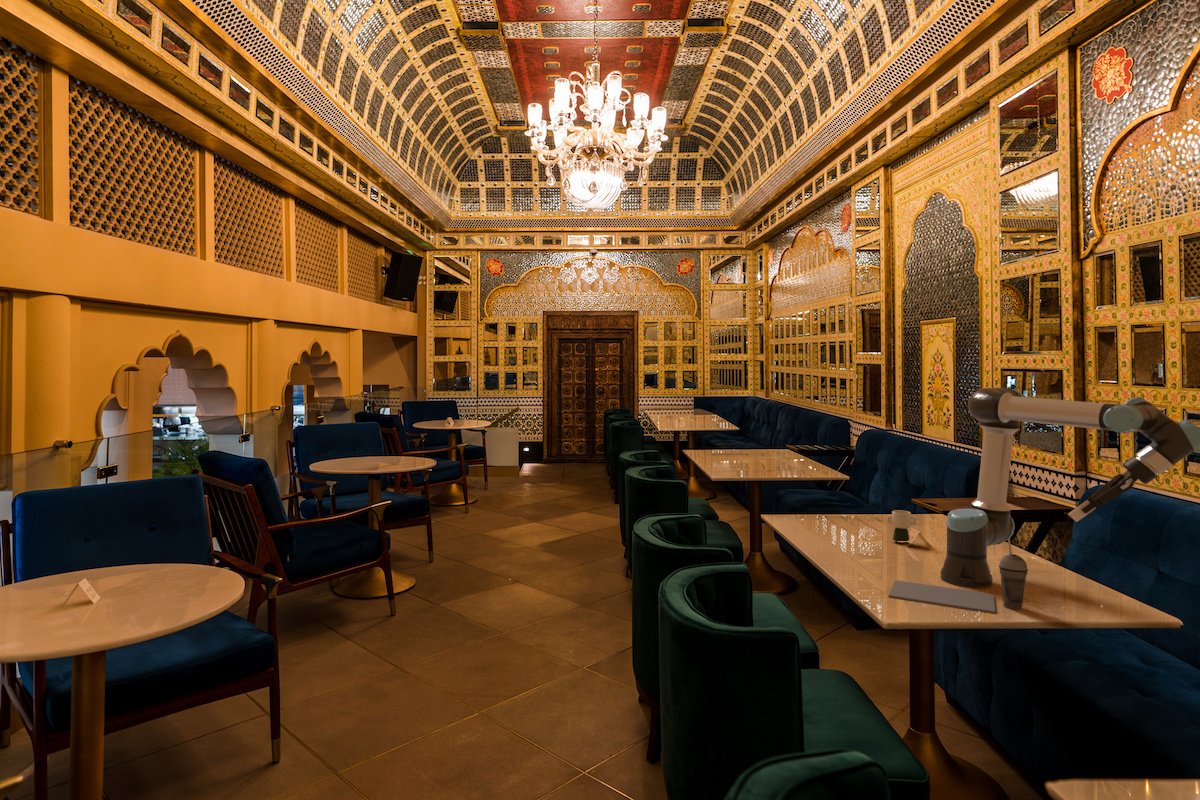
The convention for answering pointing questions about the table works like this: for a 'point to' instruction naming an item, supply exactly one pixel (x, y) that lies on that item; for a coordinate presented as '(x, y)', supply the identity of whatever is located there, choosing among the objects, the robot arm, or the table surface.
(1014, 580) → the beverage cup
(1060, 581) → the table surface
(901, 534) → the character mug
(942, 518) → the table surface
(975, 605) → the rubber mat
